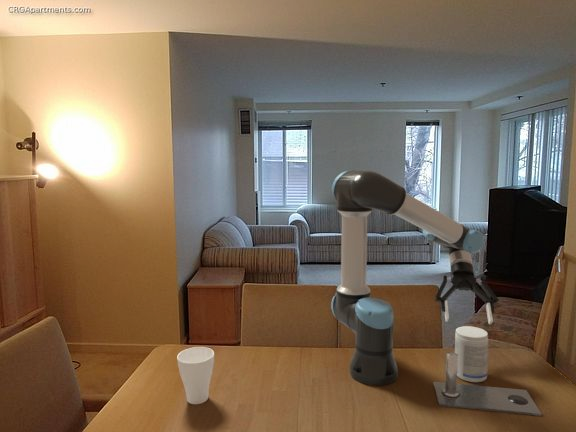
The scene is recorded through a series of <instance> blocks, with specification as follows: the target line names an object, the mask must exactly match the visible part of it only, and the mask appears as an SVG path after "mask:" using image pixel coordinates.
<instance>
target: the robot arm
mask: <svg viewBox="0 0 576 432" xmlns="http://www.w3.org/2000/svg"><path fill="white" fill-rule="evenodd" d="M331 192H332V193H331V194H332V196H333V198H334V199H335V200H336V201H337V202H336V203H337V205H336V207H337V209H336V211H337V212H338V213H339V214H340V216H341V246H340V247H341V248H340V249H341V253H340V254H341V255H340V256H341V259H340V260H341V262H340V265H341V266H340V267H341V268H340V271H341V272H340V284H339V285H338V286H337V287H336V292H335V294H334V296H333V297H332V299H331V303H330V308H331V311H332V314H333V316H334V317H335V318H336V320H337V321H338V322H339V323H340V324H342V325H344V326H345V327H347V328H348V329H349V330H350V331H352V332H353V333H354V334H355V347H354V348H355V350H354V351H353V352H354V353H353V354H352V358H351V361H350V363H349V374H350V376H351V377H352V378H353V379H355V380H356V381H357V382H360V383H362V384H365V385H369V386H370V385H371V386H386V385H389V384H392V383H394V382H395V381H396V380H397V379H398V375H399V368H398V365H397V362H396V359H395V355H394V353H393V351H394V350H393V347H394V346H393V345H394V321H395V316H394V309H393V307H392V305H391V304H390V303H389V302H387V301H385V300H384V299H381V298H379V299H378V298H377V297H372V296H371V288H370V287H369V286H368V285H367V264H368V263H367V261H368V257H367V256H368V251H367V250H368V249H367V248H368V246H367V245H368V216H369V215H370V214H371V213H372V212H373V210H375V211H379V212H382V213H384V214H386V215H387V216H392V215H394V216H396V217H398V218H400V219H402V220H405V221H406V222H408V223H410V224H411V225H413V226H415V227H418V228H419V229H421V230H422V236H424V238H426V239H427V240H428V241H430V242H433V243H434V244H435V243H436V244H437V245H439V246H441V247H443V248H445V249H447V250H448V257H449V267H450V273H451V274H450V275H451V276H449V277H448V276H447V275H443V276H442V277H443V278H442V281H441V284H440V287H438V290H437V293H436V295H435V297H434V302H439V304H440V310H441V312H442V313H443V312H444V318H445V322H446V323H448V322H449V320H450V314H449V307H448V299H449V297H450V296H452V294H453V293H455V292H456V290H458V291H465V292H466V291H467V292H469V291H471V292H472V293H474V294H475V295H476V296H477V297H478V298H480V299H481V300H482V301H483V302H484V303H485V304H486V305H485V309H486V315H487V316H486V317H487V322H488V325H492V323H493V322H494V318H493V315H494V313H495V308H494V307H495V306H494V305H497V304H498V302H499V298H498V297H497V295H496V294H495V293H494V292H493V290H492V289H491V287H490V286H489V285H488V283H487V281H486V278H485V277H484V276H481V277H479V278H478V277H477V278H476V277H475V270H474V265H473V259H472V253H473V254H474V253H477V252H479V251H481V249H482V248H483V246H484V243H485V237H484V235H483V233H482V232H481V231H480V230H477V229H474V228H472V229H471V228H468V227H467V226H465V225H464V224H461V223H459V222H457V221H456V220H454V219H452V218H451V217H449V216H447V215H445V214H443V213H442V212H441V211H438V210H436V209H435V208H433V207H431V206H430V205H428V204H426V203H424V202H423V201H421V200H419V199H418V198H416V197H413V196H412V195H411V194H409V193H407V189H406V188H405V187H403V186H402V185H400V184H398V183H396V182H394V181H393V180H391V179H390V178H388V177H386V176H385V175H383V174H381V173H378V172H376V171H373V170H356V169H351V170H347V171H346V170H345V171H343V172H341V173H340V174H338V175H337V176H336V177H335V178H334V180H333V183H332V186H331ZM449 283H451V284H452V286H451V287H450V288H449V289H448V290H447V291H446V293H444V294H443V291H444V290H445V288H446V286H447V284H449ZM476 283H477V284H478V285H479V286H480V288H481V289H480V288H479V286H478V285H477V284H476ZM442 294H443V295H442ZM441 296H442V297H441Z"/></svg>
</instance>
